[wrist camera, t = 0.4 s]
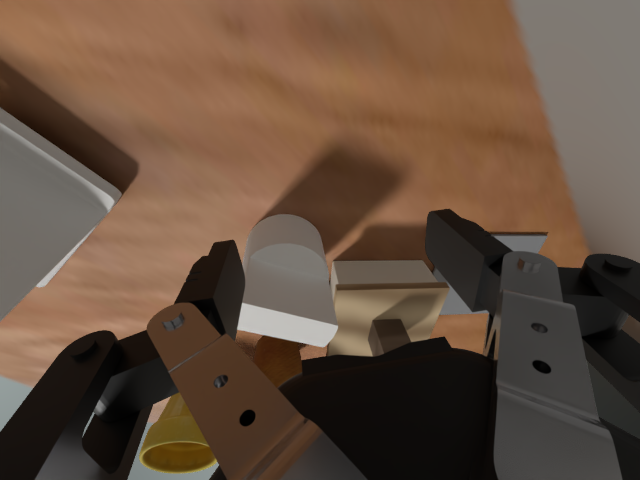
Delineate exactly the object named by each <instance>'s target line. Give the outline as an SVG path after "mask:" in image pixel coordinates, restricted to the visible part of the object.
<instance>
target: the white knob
mask: <svg viewBox="0 0 640 480" xmlns="http://www.w3.org/2000/svg"><path fill="white" fill-rule="evenodd" d="M242 266H243V270H244V274H245V290H244V296H243V301H242V306H241V311H240V317H239V322H238V327H237V329H238V330H242V331H247V332H252V333H257V334H262V335H266V336H271V337H276V338H281V339H286V340H290V341H295V342H300V343H305V344H310V345H314V346H319V347H324V346H326V345H327V344H328V343H329V342H330V341H331V340H332V338H333V337H334V335H335V333H336V331H337V329H338V323H337V318H336V313H335V309H334V304H333V299H332V294H331V290H330V285H329V272H328V267H327V263H326V258H325V253H324V249H323V244H322V240H321V236H320V234H319V232H318V230H317V229H316V227H315V226H314V225H312V224H311V223H310V222H309V221H308V220H306V219H304V218H302V217H300V216H295V215H291V214H278V215H274V216H270V217H267V218H265V219H264V220H262V221H260V222H259V223H258V224H256V225H255V226H254V227H253V228H252V230H251V232H250V233H249V235H248V238H247V243H246V248H245V253H244V258H243V263H242Z"/></svg>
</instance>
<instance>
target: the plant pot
mask: <svg viewBox="0 0 640 480" xmlns="http://www.w3.org/2000/svg"><path fill="white" fill-rule="evenodd" d="M139 459H140V462H141V463H142V464H143V465H144V466H146V467H147V468H149V469H152V470H155V471H159V472H164V473H191V472H196V471H201V470H204V469H206V468H209V467H211V466H213V465H214V464H215V463H216V462H217V460H216V458H215V456H214V455H213V453H212V451H211V449H210V447H209V445H208V444H207V442H206V440H205V438H204V436H203V434H202V433H201V431H200V429H199V427H198V425H197V423H196V422H195V420H194V418H193V416H192V414H191V412H190V411H189V409H188V407H187V405H186V403H185V402H184V400H183V398H182V396H181V394H180V392H179V393H177V394H175V395H172V396H171V398H170V399H169V401H168V403H167V405H166V407H165V409H164V410H163V412H162V414H161V416H160V417H159V419H158V421H157V422H156V423H154V424H153V425H152V426H151V427H150V429H149V431H148V433H147V435H146V438H145V440H144V443H143V446H142V448H141V452H140V455H139Z"/></svg>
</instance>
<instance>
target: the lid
mask: <svg viewBox="0 0 640 480" xmlns="http://www.w3.org/2000/svg"><path fill="white" fill-rule="evenodd" d="M449 289H450V287H449V286H448V284H447V283H446V282H427V283H378V284H336V285H335V293H334V300H333V304H334V309H335V313H336V318H337V323H338V329H337V331H336V333H335V335H334V337H333V338H332V340H331V341H330V342H329V343H328V346H327V353H326V356H331V355H337V354H339V355H357V356H379V355H382V354H384V353H386V352H389V351H391V350H393V349H396V348H398V347H400V346H403V345H405V344H407V343H410V342H415V341H421V340H427V339H429V338H430V335H431V333H432V330H433V328H434V325H435V323H436V321H437V318H438V316H439V313H440V311H441V309H442V306H443V304H444V301H445V299H446V297H447V294H448V292H449Z"/></svg>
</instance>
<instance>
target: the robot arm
mask: <svg viewBox="0 0 640 480" xmlns="http://www.w3.org/2000/svg"><path fill="white" fill-rule="evenodd" d="M425 250H426V254H427V257H428V258H429V260H430V261H431V262H432V263H433V265H434V266H435V267H436V268H437V270H438V271H439V272H440V273H441V274H442V276H443V277H444V278H445V279H446V281H447V282H448V283H449V284H450V285H451V287H452V288H453V289H454V290H455V292H456V293H457V294H458V295H459V296H460V298H461V299H462V300H463V301H464V303H465V304H466V305H467V306H468V308H469V309H470V310H471V311H472V312H478V311H484V310H487V311H488V312H489V315H488V319H487V325H486V333H485V341H484V348H483V355H482V354H479V353H476V352H472V351H468V350H464V349H458V348H451V346H450V344H449V343H448V341H447V340H446V338H445V337H439V338H433V339H427V340H421V341H415V342H410V343H407V344H405V345H403V346H400V347H398V348H396V349H393V350H391V351H389V352H386V353H384V354H382V355H379V356H357V355H339V354H337V355H331V356H325V357H319V358H313V359H306V360H302V373H299V374H297V375H295V376H293V377H292V378H290V379H288V380H287V381H285V382H284V383H283V384H281V385H280V386H279V387H278V388H276V387H275V385H274V384H273V383H272V382H271V381H270V380H269V379H268V378H267V377H266V376H265V374H264V373H263V372H262V371H261V370H260V369H259V368H258V367H257V366H256V365H255V363H254V362H253V361H252V360H251V359H250V358H249V357H248V356H247V355H246V354H245V352H244V351H243V350H242V349H241V348H240V347H239V346H238V345H237V344H236V343H235V338H236V333H237V327H238V322H239V317H240V311H241V306H242V301H243V296H244V290H245V274H244V270H243V266H242V263H241V260H240V256H239V253H238V249H237V246H236V243H235V241H234V240H228V241H221V242H215V243H214V244H213V246H212V248H211V250H210V253H209V255H208V256H202V257H201V258H200V259H199V260H198V261H197V262H196V263H195V264H194V265H193V267H192V269H191V271H190V273H189V275H188V277H187V279H186V282H185V283H184V285H183V287H182V289H181V291H180V293H179V295H178V297H177V299H176V301H175V303H174V305H171V306H168V307H166V308H164V309H163V310H161V311H160V312H158V313H157V314H156V315H154V316H153V318H152V319H151V320H150V321H149V323H148V325H147V330H145V331H142V332H140V333H137V334H134V335H132V336H129V337H126V338H124V339H121V340H118V339H117V338H116V336H115V335H114V334H113V333H112V332H111V331H106V330H103V331H97V332H93V333H90V334H88V335H85V336H83V337H81V338H79V339H77V340H76V341H74V342H73V343H71V344H70V345H69V346H67V347H66V348H65V349H64V350H63V351H62V352H61V353H60V354H59V355H58V356H57V358H56V359H55V360H54V362H53V363H52V364H51V366H50V367H49V368H48V370H47V371H46V372H45V374H44V375H43V376H42V378H41V379H40V380H39V382H38V383H37V384H36V386H35V387H34V388H33V389H32V391H31V392H30V393H29V395H28V396H27V397H26V399H25V400H24V401H23V403H22V404H21V405H20V407H19V408H18V409H17V411H16V412H15V413H14V415H13V416H12V417H11V419H10V420H9V421H8V423H7V424H6V425H5V426H4V428H3V429H2V431H1V432H0V480H127V479H128V476H129V473H130V470H131V467H132V464H133V461H134V458H135V456H136V453H137V450H138V447H139V444H140V441H141V438H142V435H143V432H144V430H145V427H146V424H147V421H148V418H149V415H150V412H151V409H152V406H153V404H155V403H157V402H159V401H161V400H164V399H166V398H168V397H170V396H172V395H175V394H177V393H179V392H180V394H181V396H182V398H183V400H184V402H185V403H186V405H187V407H188V409H189V411H190V412H191V414H192V416H193V418H194V420H195V422H196V423H197V425H198V427H199V429H200V431H201V433H202V434H203V436H204V438H205V440H206V442H207V444H208V445H209V447H210V449H211V451H212V453H213V455H214V456H215V458H216V460H217V462H218V464H219V466H218V468H217V469H216V471H215V472H214V473H213V475H212V476H211V478H210V479H209V480H640V439H638V438H637V437H635V436H633V435H631V434H629V433H627V432H626V431H624V430H622V429H620V428H618V427H616V426H615V425H612V424H611V423H609V422H607V421H605V420H604V419H602V418H600V417H598V414H597V409H596V404H595V400H594V395H593V390H592V385H591V380H590V376H589V371H588V366H587V361H589V363H590V364H591V365H592V366H594V368H595V369H596V370H597V371H599V373H600V374H601V375H602V376H604V378H606V379H607V380H608V382H609V383H610V384H612V385H613V386H614V387H615V388H616V389H617V390H618V391H619V392H620V393H621V394H622V395H623V396H624V397H625V398H626V399H627V400H628V401H629V402H630V403H631V404H632V405H633V406H634V407H635V408H636V409H637V410H638V411H639V412H640V344H639V343H638V342H637V341H636V340H634V339H633V338H632V337H630V336H629V335H628V334H627V333H625V332H624V331H623V330H622V329H621V328H622V326H623V324H624V323H625V321H626V319H627V318H628V316H629V315H631V316H632V317H633V318H635V319H636V320H637V321H639V322H640V263H638V262H636V261H633V260H631V259H628V258H625V257H621V256H617V255H611V254H593V255H589V256H588V257H587V258H586V259H585V261H584V264H583V266H582V268H565V267H557V265H556V264H555V263H554V262H553V261H552V260H550V259H549V258H547V257H545V256H542V255H540V254H536V253H533V252H527V251H513V250H511V249H510V248H509V247H507V246H506V245H505V244H503V243H502V242H501V241H499V240H498V239H496V238H495V237H494V236H491V234H490V233H488V232H487V231H484V229H483V228H482V227H480V226H479V225H478V224H476V223H474V222H472V221H469V220H466V219H464V218H461V217H460V216H458V215H457V214H456V213H454V212H453V211H452V210H450V209H443V210H437V211H431V212H429V214H428V217H427V228H426V239H425ZM586 360H587V361H586ZM93 412H94V413H95V414H94V416H93V418H92V420H91V422H90V424H89V426H88V428H87V430H86V432H85V434H84V436H83V432H84V429H85V427H86V425H87V423H88V421H89V419H90V417H91V415H92V413H93ZM82 436H83V438H82Z"/></svg>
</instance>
